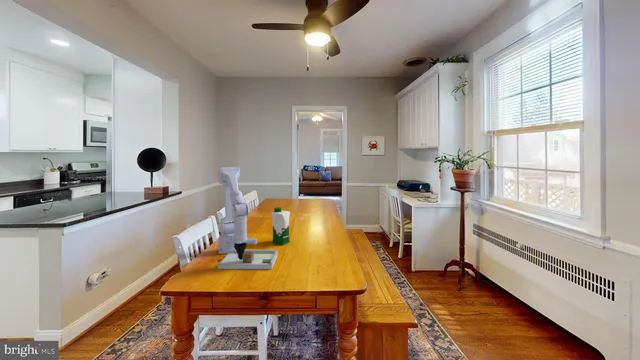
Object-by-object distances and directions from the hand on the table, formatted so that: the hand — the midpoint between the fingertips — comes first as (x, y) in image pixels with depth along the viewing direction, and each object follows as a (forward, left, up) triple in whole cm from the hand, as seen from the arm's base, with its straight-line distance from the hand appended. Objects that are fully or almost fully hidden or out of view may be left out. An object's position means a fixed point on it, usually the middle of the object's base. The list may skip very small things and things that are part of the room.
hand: (241, 258), depth 128 cm
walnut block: (+3, 0, -1) cm, 4 cm away
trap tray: (+3, +3, -3) cm, 5 cm away
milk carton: (+14, +31, -3) cm, 34 cm away
